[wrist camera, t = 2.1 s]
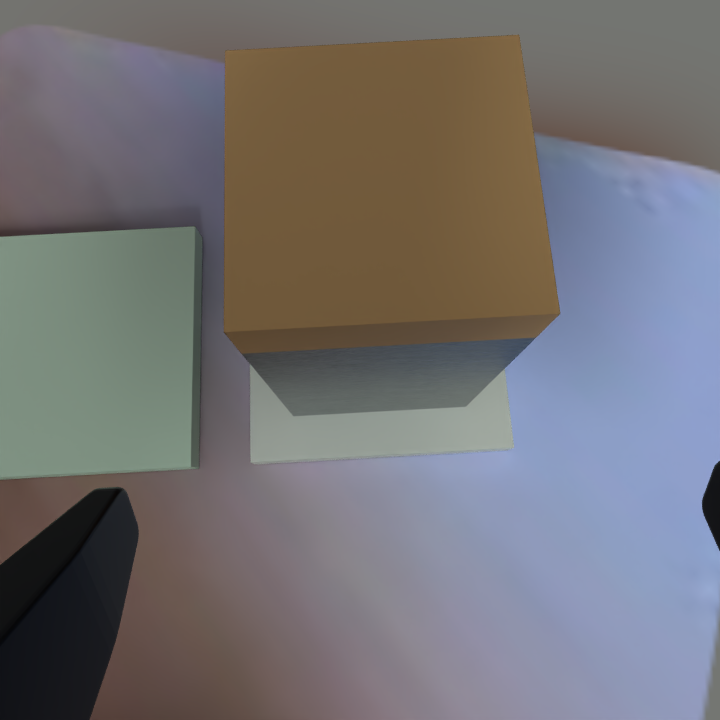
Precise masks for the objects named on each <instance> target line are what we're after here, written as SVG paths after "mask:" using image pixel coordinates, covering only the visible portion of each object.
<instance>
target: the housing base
mask: <svg viewBox="0 0 720 720" xmlns="http://www.w3.org/2000/svg"><path fill="white" fill-rule="evenodd" d="M534 339H535V338H519V339H501V340H483V341H464V342H446V343H428V344H410V345H392V346H373V347H355V348H337V349H319V350H301V351H282V352H264V353H246V354H242V355H243V356H244V357H245V358H246V360H247V361H248V362H249V363H250V364H251V366H252V367H253V368H254V369H255V370H256V372H257V373H258V374H259V375H260V376H261V378H262V379H263V380H264V381H265V383H266V384H267V385H268V386H269V387H270V389H271V390H272V391H273V392H274V393H275V395H276V396H277V397H278V398H279V399H280V401H281V402H282V403H283V404H284V405H285V407H286V408H287V409H288V410H289V412H290V413H291V414H292V415H293V416H308V415H326V414H344V413H362V412H380V411H399V410H417V409H435V408H453V407H466V406H467V405H468V404H469V403H470V402H471V401H472V400H473V399H474V398H475V397H476V396H477V395H478V394H479V393H480V392H481V391H482V390H483V389H484V388H485V387H486V386H487V385H488V384H489V383H490V382H491V381H492V380H493V379H495V378H496V377H497V376H498V375H499V374H500V373H501V372H502V371H503V370H504V369H505V368H506V367H507V366H508V365H509V364H510V363H511V362H512V361H513V360H514V359H515V358H516V357H517V356H518V355H519V354H520V353H521V352H522V351H523V350H524V349H525V348H526V347H527V346H528V345H529V344H530V343H531V342H532V341H533V340H534Z"/></svg>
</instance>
